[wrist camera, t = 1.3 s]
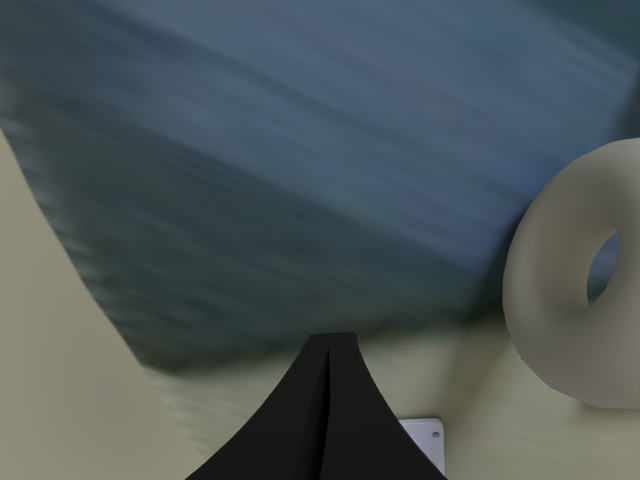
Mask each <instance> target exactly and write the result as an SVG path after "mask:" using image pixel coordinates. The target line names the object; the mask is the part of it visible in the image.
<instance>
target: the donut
mask: <svg viewBox="0 0 640 480" xmlns="http://www.w3.org/2000/svg"><path fill="white" fill-rule="evenodd" d="M616 232H618V238H619V249H618V255H617V261H616V267H615V269H614V272H613V274H612V276H611V278H610V281H609V283H608V285H607V288H606V289H605V290H604V292H603V293H602V294H601V295H600V297H599V298H598V299H597V301H596V302H595V303H594V304H593V305H591V306H590V307H589V304H588V301H587V290H586V285H587V279H588V273H589V269H590V267H591V265H592V262H593V260H594V257H595V255H596V254H597V252H598V251H599V250H600V248H601V247H602V245H603V244H604V243H605V241H606V240H607V239H609V238H610V237H611V236H612V235H613V234H614V233H616ZM502 304H503V310H504V315H505V321H506V326H507V330H508V332H509V334H510V336H511V338H512V340H513V342H514V344H515V346H516V349H517V351H518V353H519V355H520V356H521V358H522V360H523V361H524V362H525V363H526V364H527V365H528V366H529V367H530V368H531V369H532V370H533V371H534V372H535V373H536V374H537V375H538V376H539V378H540V379H542V380H543V381H544V382H545V383H546V384H547V385H548V386H549V387H550V388H552V389H555V390H557V391H559V392H561V393H564V394H566V395H568V396H570V397H573V398H575V399H577V400H579V401H582V402H584V403H586V404H588V405H591V406H593V407H597V408H608V409H640V138H634V139H625V140H620V141H615V142H611V143H608V144H606V145H604V146H602V147H600V148H598V149H595V150H593V151H591V152H589V153H587V154H585V155H582V156H581V157H579V158H577V159H576V160H574V161H572V162H571V163H570V164H569V165H567V166H566V167H565V168H564V169H562V170H561V171H560V172H559V173H557V174H556V175H555V176H554V177H553V178H551V179H550V180H549V181H548V183H547V184H546V185H545V186H544V187H543V189H542V190H541V191H540V192H539V194H538V195H537V196H536V197H535V198H534V200H533V201H532V202H531V204H530V206H529V207H528V209H527V211H526V213H525V215H524V216H523V218H522V220H521V222H520V223H519V225H518V227H517V230H516V232H515V235H514V238H513V240H512V243H511V246H510V248H509V251H508V256H507V261H506V266H505V270H504V275H503V300H502Z"/></svg>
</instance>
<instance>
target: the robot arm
mask: <svg viewBox="0 0 640 480" xmlns="http://www.w3.org/2000/svg"><path fill="white" fill-rule="evenodd" d="M433 432H436V433H433ZM185 480H448V479H447V478H446V477H445V463H444V428H443V425H442V422H441V421H440V420H439V419H436V418H429V419H405V420H398V419H397V418H396V416H395V415H394V413H393V412H392V411H391V409H390V407H389V406H388V404H387V403H386V401H385V400H384V398H383V396H382V395H381V393H380V391H379V390H378V388H377V386H376V384H375V383H374V381H373V379H372V377H371V375H370V373H369V371H368V369H367V367H366V365H365V362H364V360H363V358H362V355H361V352H360V350H359V347H358V343H357V335H356V334H355V333H353V332H341V333H327V334H312V335H311V336H310V337H309V338H308V339H307V341H306V343H305V344H304V346H303V348H302V349H301V351H300V353H299V354H298V356H297V357H296V359H295V360H294V362H293V364H292V365H291V366H290V368H289V369H288V371H287V372H286V374H285V375H284V377H283V378H282V379H281V381H280V382H279V384H278V385H277V386H276V388H275V389H274V390H273V391H272V393H271V394H270V395H269V396H268V398H267V399H266V400H265V402H264V403H263V404H262V405H261V407H260V408H259V409H258V410H257V411H256V412H255V414H254V415H253V416H252V417H251V418H250V419H249V420H248V421H247V422H246V424H245V425H244V426H243V427H242V428H241V429H240V430H239V431H238V432H237V433H236V434H235V435H234V436H233V437H232V438H231V439H230V440H229V441H228V442H227V443H226V444H225V445H224V446H223V447H222V448H220V449H219V450H218V451H217V452H216V453H215V454H214V455H213V456H212V457H211V458H210V459H208V460H207V461H206V462H205V463H204V464H203V465H202V466H201V467H199V468H198V469H197V470H196V471H195V472H193V473H192V474H191V475H190V476H189V477H187V478H186V479H185Z"/></svg>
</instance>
